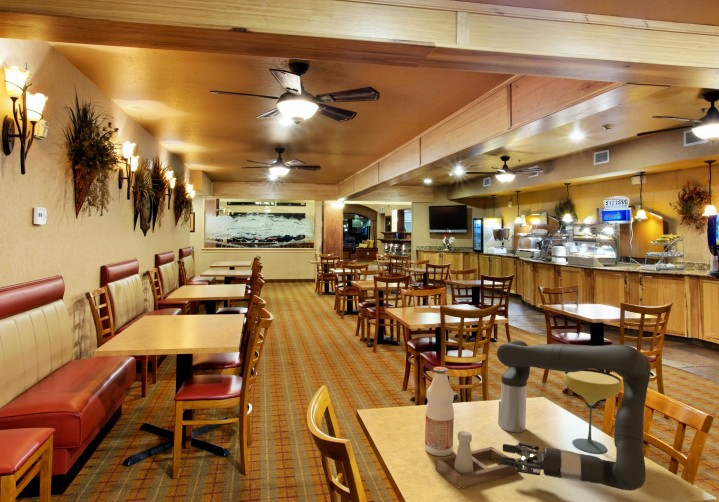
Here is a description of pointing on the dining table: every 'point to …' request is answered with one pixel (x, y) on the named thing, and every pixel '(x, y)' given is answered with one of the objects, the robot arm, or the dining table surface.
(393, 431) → the dining table surface
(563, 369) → the robot arm
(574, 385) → the cocktail glass
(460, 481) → the caddy
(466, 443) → the salt shaker
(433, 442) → the fruit juice
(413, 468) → the dining table surface
